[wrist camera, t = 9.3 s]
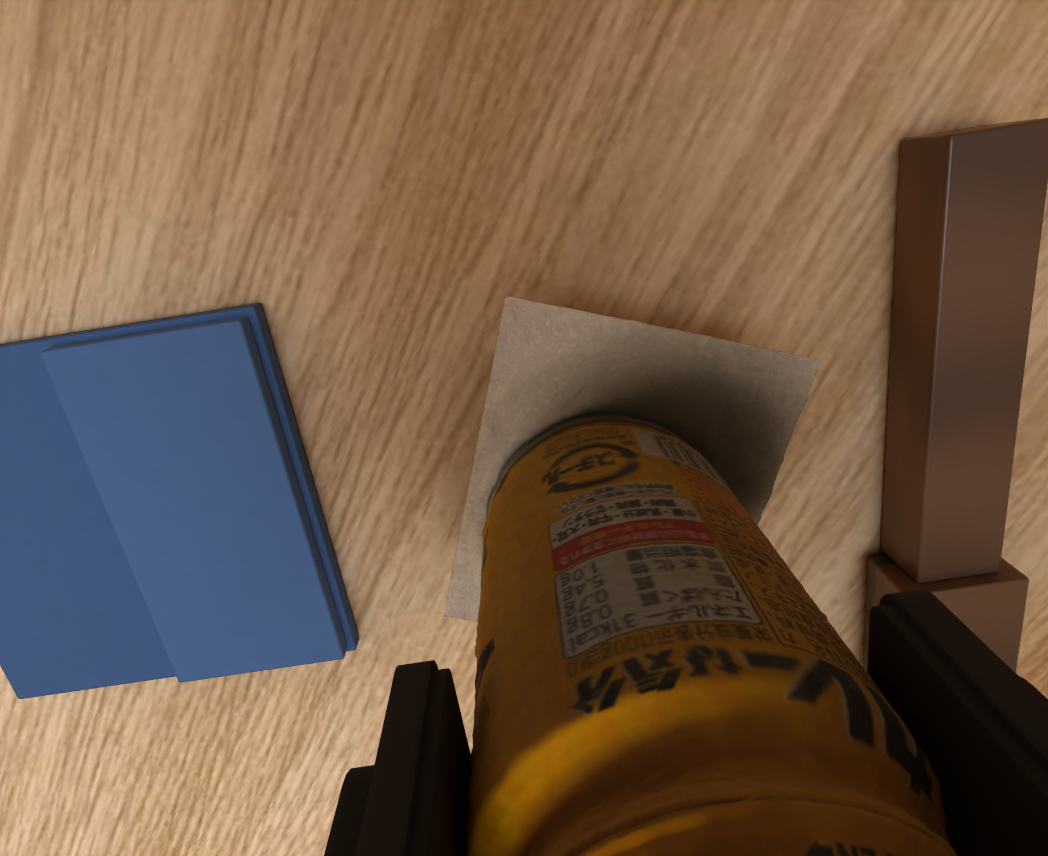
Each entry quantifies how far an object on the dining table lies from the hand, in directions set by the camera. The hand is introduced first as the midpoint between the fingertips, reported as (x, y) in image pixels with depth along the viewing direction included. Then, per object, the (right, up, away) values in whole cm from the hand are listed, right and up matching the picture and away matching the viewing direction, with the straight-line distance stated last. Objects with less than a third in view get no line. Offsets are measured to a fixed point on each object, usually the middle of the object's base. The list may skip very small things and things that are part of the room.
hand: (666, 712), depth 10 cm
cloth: (-14, +2, +10) cm, 17 cm away
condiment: (0, +3, +7) cm, 7 cm away
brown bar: (+10, +3, +10) cm, 14 cm away
